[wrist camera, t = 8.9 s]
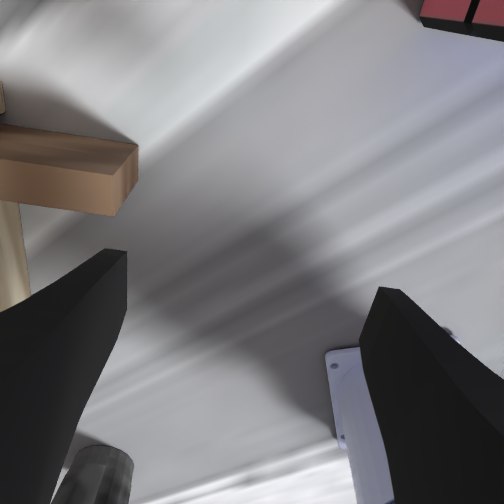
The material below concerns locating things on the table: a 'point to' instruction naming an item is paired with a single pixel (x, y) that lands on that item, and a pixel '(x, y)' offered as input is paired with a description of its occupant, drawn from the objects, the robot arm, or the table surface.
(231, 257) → the table surface
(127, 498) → the beverage cup
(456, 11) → the puzzle cube
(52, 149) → the notched walnut block
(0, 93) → the beige wooden plank
